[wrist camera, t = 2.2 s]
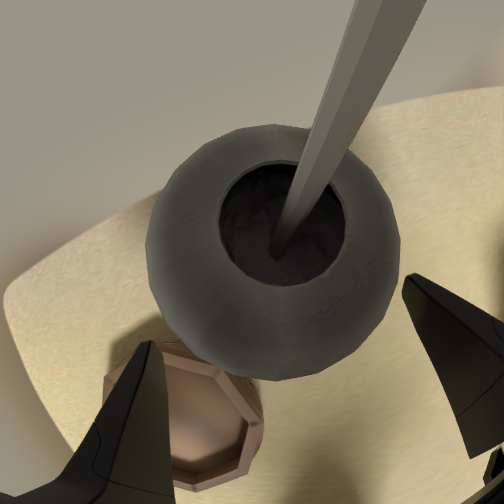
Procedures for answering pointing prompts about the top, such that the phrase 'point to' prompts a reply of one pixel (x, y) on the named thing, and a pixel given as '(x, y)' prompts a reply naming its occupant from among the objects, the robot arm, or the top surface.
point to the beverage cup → (285, 226)
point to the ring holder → (205, 419)
